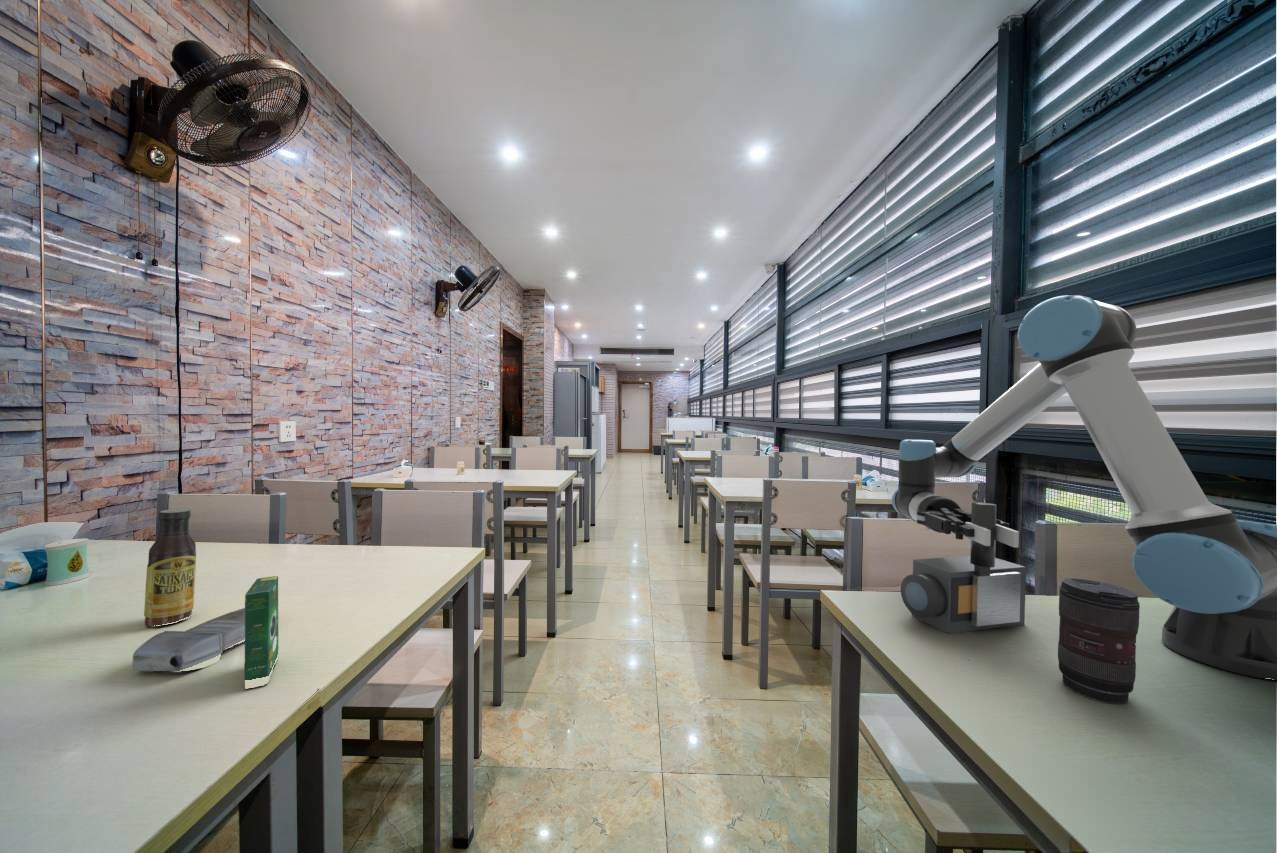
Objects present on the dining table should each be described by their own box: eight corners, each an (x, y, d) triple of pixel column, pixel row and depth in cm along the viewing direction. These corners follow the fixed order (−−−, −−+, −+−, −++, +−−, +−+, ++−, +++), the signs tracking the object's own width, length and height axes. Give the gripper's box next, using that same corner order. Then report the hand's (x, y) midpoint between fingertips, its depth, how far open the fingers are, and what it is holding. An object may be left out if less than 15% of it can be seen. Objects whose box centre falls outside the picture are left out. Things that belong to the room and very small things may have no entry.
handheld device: (299, 620, 84) (299, 595, 84) (188, 682, 64) (188, 649, 64) (248, 618, 85) (248, 593, 85) (122, 680, 65) (122, 647, 65)
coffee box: (255, 663, 69) (255, 576, 69) (279, 659, 70) (280, 573, 70) (242, 691, 62) (242, 594, 62) (269, 685, 63) (269, 591, 63)
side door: (1006, 616, 87) (1010, 501, 87) (1027, 624, 84) (1030, 504, 84) (963, 621, 85) (966, 502, 85) (982, 629, 81) (985, 505, 81)
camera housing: (983, 607, 95) (985, 554, 95) (1025, 624, 87) (1027, 567, 87) (898, 616, 90) (899, 560, 90) (934, 635, 82) (936, 574, 82)
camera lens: (1154, 712, 61) (1157, 599, 61) (1082, 703, 63) (1086, 594, 62) (1105, 678, 69) (1108, 579, 69) (1043, 671, 70) (1046, 574, 70)
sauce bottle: (149, 632, 78) (150, 515, 78) (139, 623, 81) (139, 511, 81) (201, 618, 84) (201, 509, 83) (189, 610, 87) (190, 505, 87)
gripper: (976, 531, 100) (1056, 564, 77) (894, 527, 102) (947, 557, 79) (977, 496, 100) (1058, 519, 77) (894, 493, 102) (948, 514, 79)
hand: (1001, 538), depth 78 cm, fingers closed on side door, 4 cm apart
